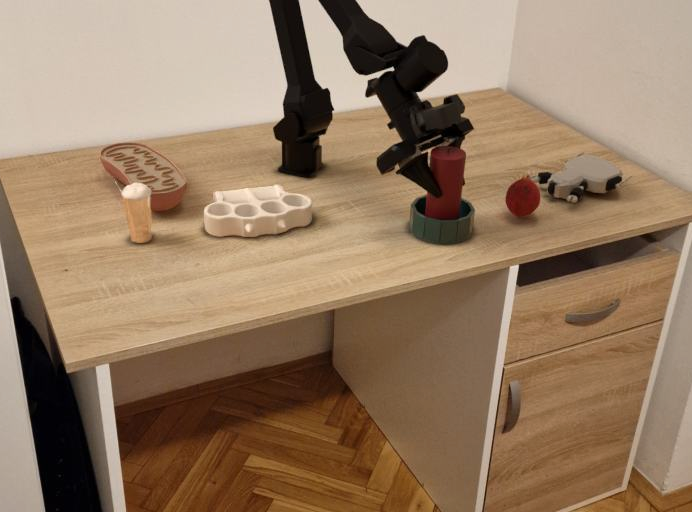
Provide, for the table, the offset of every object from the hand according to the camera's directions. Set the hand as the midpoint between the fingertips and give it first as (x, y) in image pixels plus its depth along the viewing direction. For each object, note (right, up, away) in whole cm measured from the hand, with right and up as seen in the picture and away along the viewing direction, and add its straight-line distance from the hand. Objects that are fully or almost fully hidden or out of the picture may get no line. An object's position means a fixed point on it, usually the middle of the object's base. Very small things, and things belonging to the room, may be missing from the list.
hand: (451, 191), depth 150 cm
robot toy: (+25, +3, +19) cm, 31 cm away
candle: (-1, -5, +5) cm, 7 cm away
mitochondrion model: (-52, +2, +13) cm, 54 cm away
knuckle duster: (-32, -4, +6) cm, 33 cm away
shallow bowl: (-1, -5, +5) cm, 7 cm away
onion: (+13, -3, +9) cm, 16 cm away
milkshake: (-50, -8, -1) cm, 51 cm away
